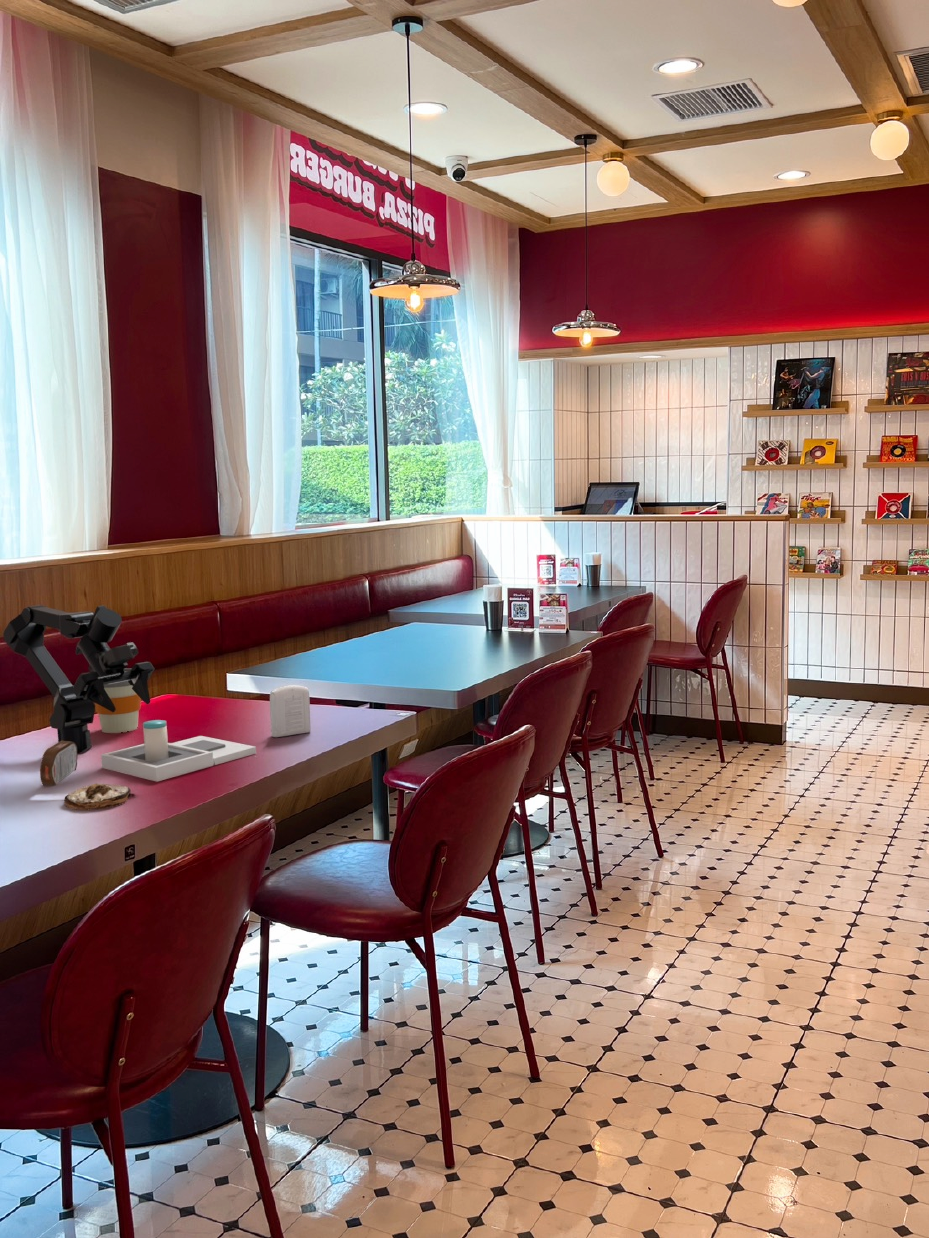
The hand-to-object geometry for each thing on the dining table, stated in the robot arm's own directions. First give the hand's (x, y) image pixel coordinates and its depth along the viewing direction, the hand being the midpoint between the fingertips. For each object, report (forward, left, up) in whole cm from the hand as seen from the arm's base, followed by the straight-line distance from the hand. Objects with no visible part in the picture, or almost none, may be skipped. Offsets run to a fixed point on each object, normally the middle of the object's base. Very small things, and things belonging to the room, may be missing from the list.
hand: (132, 707), depth 250 cm
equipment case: (+10, 0, -14) cm, 17 cm away
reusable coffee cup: (-17, +36, -14) cm, 42 cm away
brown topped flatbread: (+2, -27, -14) cm, 31 cm away
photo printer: (+30, +28, -14) cm, 43 cm away
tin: (-12, -13, -14) cm, 22 cm away
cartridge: (+7, -5, -13) cm, 15 cm away
